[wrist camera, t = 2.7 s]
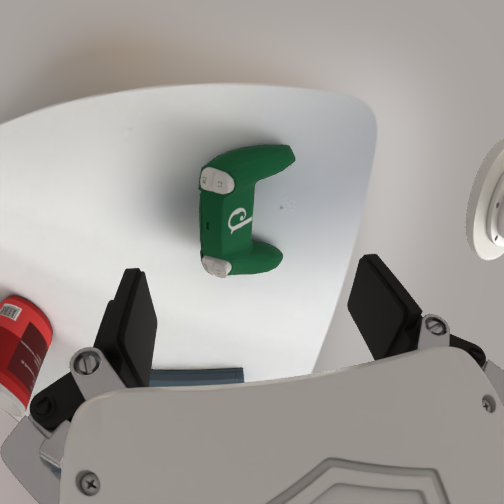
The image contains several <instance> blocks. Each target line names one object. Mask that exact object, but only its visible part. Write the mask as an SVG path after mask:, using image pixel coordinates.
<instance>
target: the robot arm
mask: <svg viewBox="0 0 504 504" xmlns="http://www.w3.org/2000/svg"><path fill="white" fill-rule="evenodd" d="M487 234H488V237H489V239H490V241H491V242H492V243H494V244H495V245H496V246H499V247H501V246H504V172H503V174H502V175H501V177H500V179H499V180H498V183H497V185H496V187H495V189H494V192H493V194H492V198H491V201H490V204H489V209H488V215H487ZM347 306H348V310H349V312H350V314H351V316H352V318H353V320H354V321H355V323H356V325H357V327H358V329H359V331H360V333H361V334H362V336H363V338H364V340H365V342H366V344H367V346H368V348H369V350H370V352H371V354H372V356H373V358H374V360H375V361H372V362H368V363H363V364H359V365H355V366H350V367H346V368H340V369H336V370H330V371H326V372H320V373H314V374H308V375H302V376H295V377H289V378H281V379H274V380H265V381H256V382H247V383H235V384H222V385H204V386H179V387H149V383H150V374H151V366H152V358H153V351H154V344H155V337H156V330H157V317H156V314H155V310H154V307H153V303H152V299H151V296H150V292H149V288H148V284H147V280H146V276H145V273H144V271H142V272H141V271H140V269H139V268H131V269H126V270H125V272H124V274H123V277H122V279H121V282H120V285H119V287H118V290H117V293H116V295H115V298H114V300H110V301H109V303H108V305H107V308H106V310H105V313H104V316H103V319H102V322H101V324H100V327H99V330H98V333H97V336H96V339H95V343H94V346H93V347H86V348H83V349H80V350H79V351H77V352H76V353H75V354H74V355H73V357H72V358H71V361H70V370H71V371H70V372H69V373H67V374H66V375H65V376H63V377H62V378H60V379H59V380H57V381H56V382H54V383H53V384H51V385H50V386H48V387H47V388H45V389H44V390H42V391H41V392H39V393H38V394H37V395H35V396H34V398H33V399H32V401H31V404H30V413H31V414H30V415H29V416H28V417H27V416H26V415H25V416H24V417H23V418H22V420H21V421H20V422H19V423H18V425H17V426H16V427H15V428H14V430H13V431H12V432H11V434H10V435H9V436H8V437H7V439H6V440H5V441H4V443H3V445H2V447H1V457H2V459H3V461H4V463H5V464H6V466H7V467H8V468H9V470H10V471H11V472H12V473H13V475H14V476H15V477H16V478H17V479H18V481H19V482H20V483H21V484H22V485H23V487H24V488H25V489H26V490H27V491H28V492H29V493H30V494H31V495H32V497H33V498H34V499H35V500H36V501H37V502H38V503H39V504H504V370H502V369H501V368H500V367H498V366H497V365H495V364H494V363H493V362H492V361H490V360H488V361H486V356H485V354H484V352H483V350H482V349H481V348H480V347H479V346H477V345H475V344H473V343H470V342H468V341H466V340H463V339H461V338H459V337H456V336H454V335H451V334H450V329H449V326H448V324H447V322H446V321H445V320H444V319H442V318H441V317H439V316H437V315H433V314H428V315H425V316H424V317H422V316H421V313H422V310H421V309H420V307H419V306H418V305H417V303H416V302H415V301H414V299H413V298H412V297H411V296H410V294H409V293H408V292H407V290H406V289H405V288H404V287H403V285H402V284H401V283H400V282H399V280H398V279H397V278H396V277H395V276H394V274H393V273H392V272H391V271H390V269H389V268H388V267H387V266H386V265H385V264H384V262H383V261H382V260H381V259H380V258H379V256H378V255H377V254H368V255H364V256H363V257H362V258H361V259H360V260H359V264H358V268H357V271H356V275H355V279H354V282H353V286H352V290H351V293H350V296H349V300H348V305H347ZM62 457H63V461H62V469H61V468H60V461H61V458H62Z"/></svg>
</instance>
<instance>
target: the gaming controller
mask: <svg viewBox="0 0 504 504" xmlns="http://www.w3.org/2000/svg"><path fill="white" fill-rule="evenodd" d="M294 161H295V156H294V154H293V152H292V150H291V148H290V146H288V145H259V146H251V147H244V148H240V149H236V150H232V151H229V152H227V153H224V154H222V155H219V156H217V157H216V158H214V159H213V160H212V161H210V162H209V163H208V164H206V165H205V166H204V167H202V169H201V172H200V178H199V190H200V191H201V193H200V207H199V217H200V242H201V251H200V254H201V261H202V264H203V267H204V269H205V270H206V271H207V272H208V273H210V274H211V275H215V276H217V277H221V278H225V277H226V276H227V275H240V274H257V273H263V272H268V271H270V270H272V269H274V268H276V267H277V266H278V265H279V264H280V262H281V261H282V259H283V254H282V253H281V251H280V250H278V249H277V248H276V247H274V246H272V245H269V244H266V243H261V242H257V241H252V240H251V232H252V218H253V204H254V190H255V184H256V182H258V181H259V180H261V179H264V178H267V177H269V176H272V175H274V174H277V173H279V172H281V171H283V170H284V169H286V168H287V167H288V166H290V165H291V164H292V163H294Z"/></svg>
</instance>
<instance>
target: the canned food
mask: <svg viewBox="0 0 504 504" xmlns="http://www.w3.org/2000/svg"><path fill="white" fill-rule="evenodd" d="M51 341H52V327H51V325H50V322H49V321H48V319H47V317H46V316H45V315H44V314H43V312H42V311H41V310H40V309H39V308H38V307H37V306H35V305H34V304H33V303H31V302H30V301H28V300H26V299H24V298H22V297H18V296H10V297H8V298H6V299H5V300H3V301H2V302H1V304H0V409H1V410H3V411H5V412H7V413H9V414H12V415H15V416H20V417H22V416H24V413H25V412H26V409H27V406H28V403H29V400H30V397H31V394H32V391H33V388H34V385H35V382H36V379H37V376H38V374H39V371H40V368H41V366H42V363H43V361H44V358H45V356H46V353H47V351H48V348H49V346H50V344H51Z"/></svg>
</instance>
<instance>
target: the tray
mask: <svg viewBox="0 0 504 504" xmlns="http://www.w3.org/2000/svg"><path fill="white" fill-rule="evenodd" d="M235 383H244V374H243V368H233V369H214V370H151V374H150V383H149V387H179V386H204V385H222V384H235Z"/></svg>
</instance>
